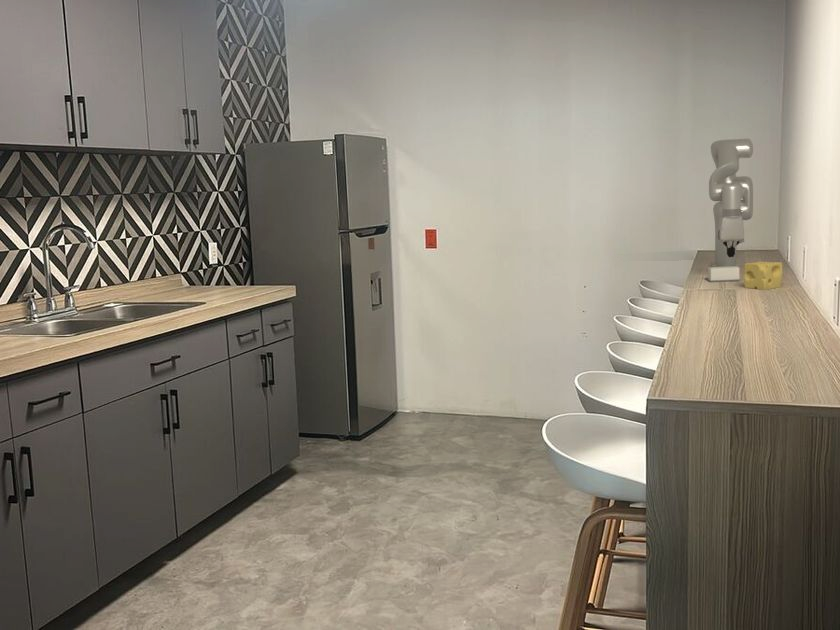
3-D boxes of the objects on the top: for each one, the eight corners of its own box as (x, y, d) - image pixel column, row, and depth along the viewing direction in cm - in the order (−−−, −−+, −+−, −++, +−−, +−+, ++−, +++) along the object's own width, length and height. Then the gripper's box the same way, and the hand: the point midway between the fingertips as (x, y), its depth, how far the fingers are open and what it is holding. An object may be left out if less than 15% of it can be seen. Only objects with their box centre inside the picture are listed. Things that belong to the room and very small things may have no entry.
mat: (704, 279, 370) (704, 278, 369) (733, 278, 368) (733, 277, 368) (710, 282, 360) (710, 281, 360) (739, 281, 358) (739, 280, 358)
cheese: (764, 290, 331) (764, 264, 330) (742, 287, 341) (742, 263, 339) (782, 287, 336) (783, 262, 334) (760, 284, 345) (761, 260, 344)
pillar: (736, 277, 366) (708, 278, 367) (737, 266, 365) (708, 267, 366) (739, 279, 361) (710, 280, 362) (740, 267, 360) (710, 268, 361)
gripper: (746, 212, 362) (746, 255, 365) (710, 214, 363) (710, 256, 366) (751, 213, 354) (751, 256, 357) (715, 215, 356) (715, 258, 359)
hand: (730, 256), depth 362 cm, fingers closed
